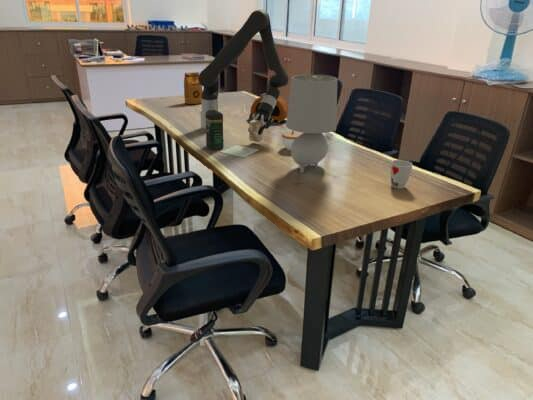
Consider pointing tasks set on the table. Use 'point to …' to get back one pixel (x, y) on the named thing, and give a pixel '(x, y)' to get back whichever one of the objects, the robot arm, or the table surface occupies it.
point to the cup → (400, 173)
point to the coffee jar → (214, 129)
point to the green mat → (239, 151)
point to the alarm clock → (278, 111)
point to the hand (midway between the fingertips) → (254, 133)
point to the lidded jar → (289, 138)
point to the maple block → (255, 131)
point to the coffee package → (192, 88)
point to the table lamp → (311, 116)
